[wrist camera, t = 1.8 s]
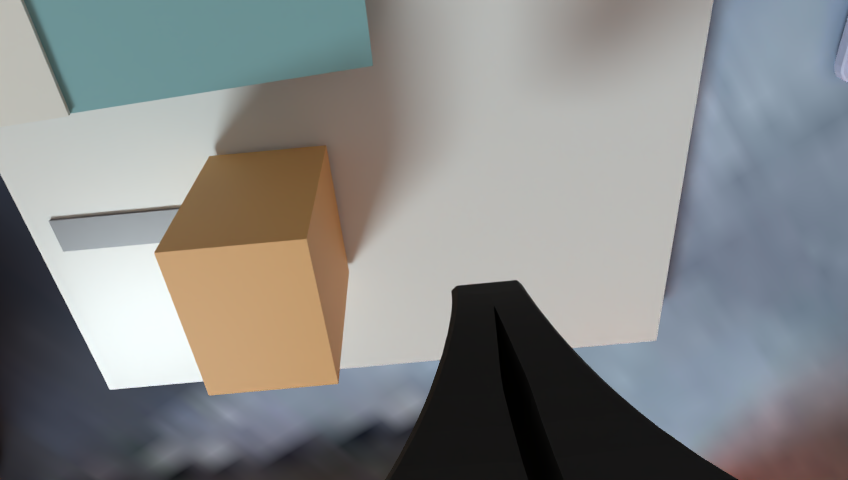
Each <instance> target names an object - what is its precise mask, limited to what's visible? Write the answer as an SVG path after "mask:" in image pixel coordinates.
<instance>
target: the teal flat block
mask: <svg viewBox="0 0 848 480" xmlns="http://www.w3.org/2000/svg"><path fill="white" fill-rule="evenodd" d="M369 66H373V61H372V53H371V45H370V37H369V29H368V21H367V13H366V5H365V0H0V127H4V126H10V125H17V124H23V123H29V122H35V121H42V120H48V119H54V118H61V117H67V116H69V115H70V114H71V113H77V112H84V111H90V110H96V109H103V108H109V107H115V106H122V105H128V104H134V103H141V102H147V101H153V100H160V99H166V98H172V97H179V96H185V95H191V94H198V93H204V92H210V91H217V90H223V89H229V88H236V87H242V86H248V85H255V84H261V83H267V82H274V81H280V80H286V79H293V78H299V77H305V76H312V75H318V74H324V73H331V72H337V71H343V70H350V69H356V68H362V67H369Z"/></svg>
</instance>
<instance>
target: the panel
mask: <svg viewBox="0 0 848 480" xmlns="http://www.w3.org/2000/svg"><path fill="white" fill-rule="evenodd" d="M365 5H366V13H367V21H368V29H369V37H370V45H371V53H372V61H373V66H369V67H362V68H356V69H350V70H343V71H337V72H331V73H324V74H318V75H312V76H305V77H299V78H293V79H286V80H280V81H274V82H267V83H261V84H255V85H248V86H242V87H236V88H229V89H223V90H217V91H210V92H204V93H198V94H191V95H185V96H179V97H172V98H166V99H160V100H153V101H147V102H141V103H134V104H128V105H122V106H115V107H109V108H103V109H96V110H90V111H84V112H77V113H71V114H70V115H69V116H67V117H61V118H54V119H48V120H42V121H35V122H29V123H23V124H17V125H10V126H4V127H0V174H1V176H2V178H3V180H4V182H5V184H6V186H7V188H8V190H9V192H10V194H11V196H12V198H13V200H14V201H15V203H16V205H17V207H18V209H19V211H20V213H21V215H22V217H23V219H24V221H25V223H26V225H27V227H28V229H29V231H30V233H31V235H32V237H33V239H34V241H35V243H36V245H37V247H38V249H39V251H40V253H41V255H42V257H43V259H44V261H45V263H46V265H47V267H48V269H49V270H50V272H51V274H52V276H53V278H54V280H55V282H56V284H57V286H58V288H59V290H60V292H61V294H62V296H63V298H64V300H65V302H66V304H67V306H68V308H69V310H70V312H71V314H72V316H73V318H74V320H75V322H76V324H77V326H78V328H79V330H80V332H81V334H82V336H83V338H84V339H85V341H86V343H87V345H88V347H89V349H90V351H91V353H92V355H93V357H94V359H95V361H96V363H97V365H98V367H99V369H100V371H101V373H102V375H103V377H104V379H105V381H106V383H107V385H108V387H109V389H110V390H112V389H123V388H134V387H145V386H156V385H167V384H178V383H189V382H200V381H203V379H202V376H201V374H200V371H199V368H198V366H197V363H196V361H195V358H194V355H193V353H192V350H191V348H190V345H189V342H188V340H187V337H186V335H185V332H184V330H183V327H182V324H181V322H180V319H179V317H178V314H177V311H176V309H175V306H174V304H173V301H172V298H171V296H170V293H169V291H168V288H167V285H166V283H165V280H164V278H163V275H162V272H161V270H160V267H159V265H158V262H157V260H156V257H155V254H154V252H155V250H156V248H157V247H158V245H159V243H160V241H161V240H162V238H163V236H164V234H165V233H166V231H167V229H168V227H169V226H170V224H171V222H172V220H173V219H174V217H175V215H176V213H177V212H178V210H179V208H180V206H181V205H182V203H183V201H184V199H185V198H186V196H187V194H188V192H189V191H190V189H191V187H192V185H193V184H194V182H195V180H196V178H197V177H198V175H199V173H200V171H201V170H202V168H203V166H204V164H205V163H206V161H207V159H208V157H209V156H215V155H226V154H237V153H248V152H259V151H269V150H280V149H291V148H302V147H313V146H324V145H326V146H327V152H328V157H329V163H330V169H331V174H332V180H333V185H334V191H335V196H336V202H337V207H338V213H339V218H340V224H341V230H342V235H343V241H344V246H345V252H346V257H347V263H348V268H349V278H348V289H347V299H346V309H345V319H344V330H343V340H342V350H341V361H340V369H345V368H356V367H367V366H378V365H390V364H401V363H412V362H423V361H434V360H441V356H442V353H443V349H444V345H445V341H446V337H447V333H448V329H449V323H450V318H451V310H452V293H451V291H452V290H453V289H454V288H455V287H456V286H458V285H468V284H479V283H490V282H500V281H511V280H517V281H519V282H520V283H521V284H522V285H523V287H524V288H525V290H526V291H527V293H528V294H529V296H530V297H531V298H532V300H533V301H534V303H535V304H536V305H537V307H538V308H539V309H540V311H541V312H542V313H543V314H544V316H545V317H546V318H547V319H548V321H549V322H550V323H551V324H552V326H553V327H554V328H555V329H556V330H557V332H558V333H559V334H560V335H561V336H562V337H563V338H564V340H565V341H566V342H567V343H568V344H569V345H570V346H571V348H579V347H590V346H601V345H612V344H623V343H634V342H645V341H656V339H657V333H658V327H659V321H660V315H661V309H662V303H663V297H664V291H665V285H666V280H667V274H668V268H669V262H670V256H671V250H672V244H673V238H674V232H675V226H676V220H677V214H678V208H679V202H680V196H681V190H682V184H683V178H684V173H685V167H686V161H687V155H688V149H689V143H690V137H691V131H692V125H693V119H694V113H695V107H696V101H697V95H698V89H699V83H700V77H701V72H702V66H703V60H704V54H705V48H706V42H707V36H708V30H709V24H710V18H711V12H712V6H713V0H365Z"/></svg>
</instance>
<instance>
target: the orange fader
mask: <svg viewBox="0 0 848 480" xmlns="http://www.w3.org/2000/svg"><path fill="white" fill-rule="evenodd" d="M154 254H155V257H156V260H157V262H158V265H159V267H160V270H161V272H162V275H163V278H164V280H165V283H166V285H167V288H168V291H169V293H170V296H171V298H172V301H173V304H174V306H175V309H176V311H177V314H178V317H179V319H180V322H181V324H182V327H183V330H184V332H185V335H186V337H187V340H188V342H189V345H190V348H191V350H192V353H193V355H194V358H195V361H196V363H197V366H198V368H199V371H200V374H201V376H202V379H203V381H204V384H205V387H206V389H207V392H208V394H209V395H220V394H231V393H242V392H253V391H264V390H275V389H286V388H298V387H309V386H320V385H331V384H338V381H339V371H340V361H341V350H342V340H343V330H344V319H345V309H346V299H347V289H348V278H349V268H348V263H347V257H346V252H345V246H344V241H343V235H342V230H341V224H340V218H339V213H338V207H337V202H336V196H335V191H334V185H333V180H332V174H331V169H330V163H329V157H328V152H327V146H326V145H324V146H313V147H302V148H291V149H280V150H269V151H259V152H248V153H237V154H226V155H215V156H209V157H208V159H207V161H206V163H205V164H204V166H203V168H202V170H201V171H200V173H199V175H198V177H197V178H196V180H195V182H194V184H193V185H192V187H191V189H190V191H189V192H188V194H187V196H186V198H185V199H184V201H183V203H182V205H181V206H180V208H179V210H178V212H177V213H176V215H175V217H174V219H173V220H172V222H171V224H170V226H169V227H168V229H167V231H166V233H165V234H164V236H163V238H162V240H161V241H160V243H159V245H158V247H157V248H156V250H155V252H154Z"/></svg>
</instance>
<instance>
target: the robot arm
mask: <svg viewBox="0 0 848 480" xmlns="http://www.w3.org/2000/svg"><path fill="white" fill-rule="evenodd" d="M834 72H835V74H836V76H837V77H839V78H840V79H842V80H844V81H846V82H848V18H847V21H846V25H845V28H844V32H843V35H842V39H841V42H840V46H839V49H838V53H837V56H836V60H835V63H834ZM451 293H452V310H451V318H450V323H449V329H448V333H447V337H446V341H445V345H444V349H443V353H442V356H441V360H440V363H439V366H438V369H437V372H436V375H435V377H434V380H433V383H432V386H431V389H430V392H429V394H428V397H427V399H426V402H425V404H424V406H423V409H422V411H421V413H420V415H419V418H418V420H417V422H416V424H415V426H414V428H413V431H412V432H411V434H410V436H409V438H408V440H407V442H406V444H405V446H404V448H403V450H402V452H401V454H400V456H399V457H398V459H397V461H396V463H395V464H394V466H393V468H392V470H391V471H390V473H389V474H388V476H387V478H386V479H385V480H738V479H736V478H734V477H733V476H731V475H729V474H728V473H726V472H724V471H723V470H721V469H720V468H718V467H716V466H715V465H713V464H712V463H710V462H708V461H707V460H705V459H703V458H702V457H700V456H699V455H697V454H696V453H695V452H693V451H692V450H690V449H689V448H687V447H686V446H685V445H683V444H682V443H680V442H679V441H677V440H676V439H675V438H673V437H672V436H670V435H669V434H667V433H666V432H665V431H663V430H662V429H660V428H659V427H658V426H656V425H655V424H654V423H653V422H651V421H650V420H649V419H648V418H646V417H645V416H644V415H643V414H641V413H640V412H639V411H638V410H636V409H635V408H634V407H633V406H632V405H630V404H629V403H628V402H627V401H626V400H625V399H623V398H622V397H621V396H620V395H619V394H618V393H617V392H615V391H614V390H613V389H612V388H611V387H610V386H609V385H608V384H607V383H606V382H605V381H604V380H603V379H602V378H600V377H599V376H598V375H597V374H596V373H595V372H594V371H593V370H592V369H591V368H590V367H589V366H588V365H587V364H586V363H585V362H584V360H583V359H582V358H581V357H580V356H579V355H578V354H577V353H576V352H575V351H574V350H573V349H572V348H571V346H570V345H569V344H568V343H567V342H566V341H565V340H564V338H563V337H562V336H561V335H560V334H559V333H558V332H557V330H556V329H555V328H554V327H553V326H552V324H551V323H550V322H549V321H548V319H547V318H546V317H545V316H544V314H543V313H542V312H541V311H540V309H539V308H538V307H537V305H536V304H535V303H534V301H533V300H532V298H531V297H530V296H529V294H528V293H527V291H526V290H525V288H524V287H523V285H522V284H521V283H520V282H519V281H517V280H511V281H500V282H490V283H479V284H468V285H458V286H456V287H455V288H454V289H453V290H452V291H451Z"/></svg>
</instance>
